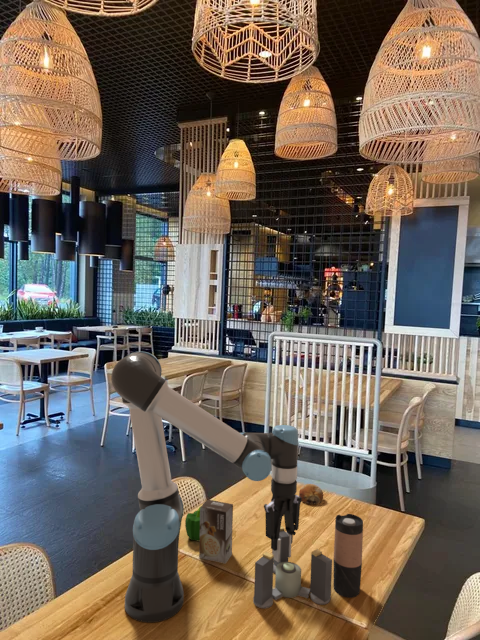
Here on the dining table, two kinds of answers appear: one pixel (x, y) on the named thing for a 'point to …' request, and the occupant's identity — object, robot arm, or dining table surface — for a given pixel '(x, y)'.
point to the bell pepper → (193, 525)
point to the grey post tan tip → (320, 578)
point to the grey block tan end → (282, 548)
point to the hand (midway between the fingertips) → (281, 557)
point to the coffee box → (216, 531)
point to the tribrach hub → (288, 581)
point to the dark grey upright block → (264, 581)
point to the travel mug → (348, 555)
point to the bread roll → (311, 494)
